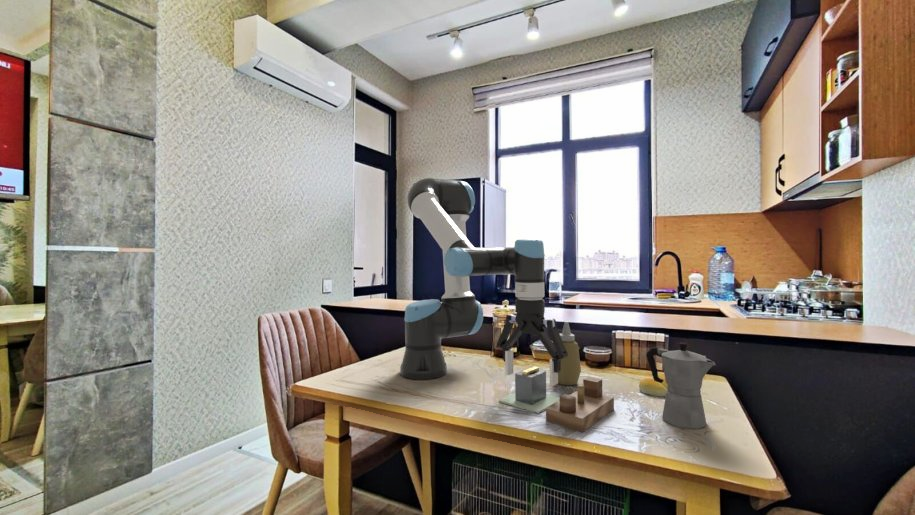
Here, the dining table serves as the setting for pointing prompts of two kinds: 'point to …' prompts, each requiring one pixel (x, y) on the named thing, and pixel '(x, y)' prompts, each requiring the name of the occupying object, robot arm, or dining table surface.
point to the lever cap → (530, 385)
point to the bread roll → (653, 387)
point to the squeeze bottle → (569, 359)
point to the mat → (535, 407)
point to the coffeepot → (682, 385)
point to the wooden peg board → (581, 406)
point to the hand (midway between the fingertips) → (530, 379)
